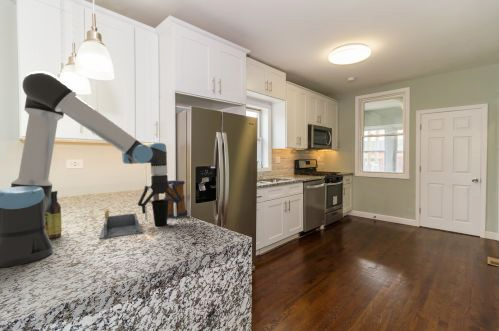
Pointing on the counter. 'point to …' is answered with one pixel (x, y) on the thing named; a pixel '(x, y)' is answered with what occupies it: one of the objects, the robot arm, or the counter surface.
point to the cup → (160, 212)
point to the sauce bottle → (53, 217)
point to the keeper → (120, 225)
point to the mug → (181, 205)
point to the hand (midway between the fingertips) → (161, 217)
